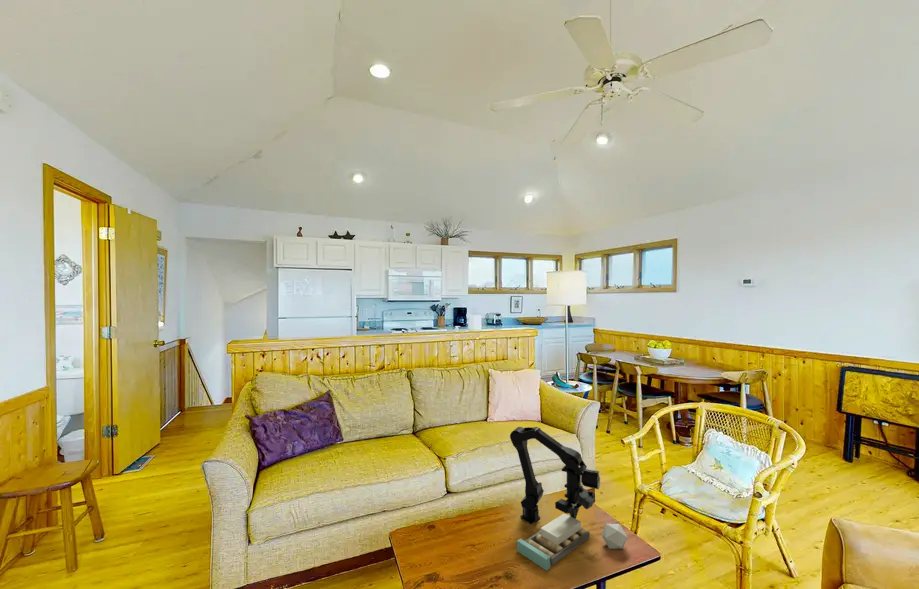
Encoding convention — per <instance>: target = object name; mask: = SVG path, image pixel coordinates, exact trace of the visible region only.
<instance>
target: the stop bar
mask: <svg viewBox="0 0 919 589" xmlns="http://www.w3.org/2000/svg"><path fill="white" fill-rule="evenodd" d="M516 551H517V552H518V553H519V554H520V555H523V556H524V557H525V558H527V559H528V560H530V561H531V562H533V563H535V564H536V565H538V567H540V568H542V569H544V570H545V571H546V572H547V571H549V570H550V569H551V562H550V557H549V556H548V555H546V554H544V553H543V552H541V551H540V550H538V549H536V548H535V547H533V546H532V545H530V544H528V543H527V542H525V540H524V539H522V538H519V539H517V540H516Z"/></svg>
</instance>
